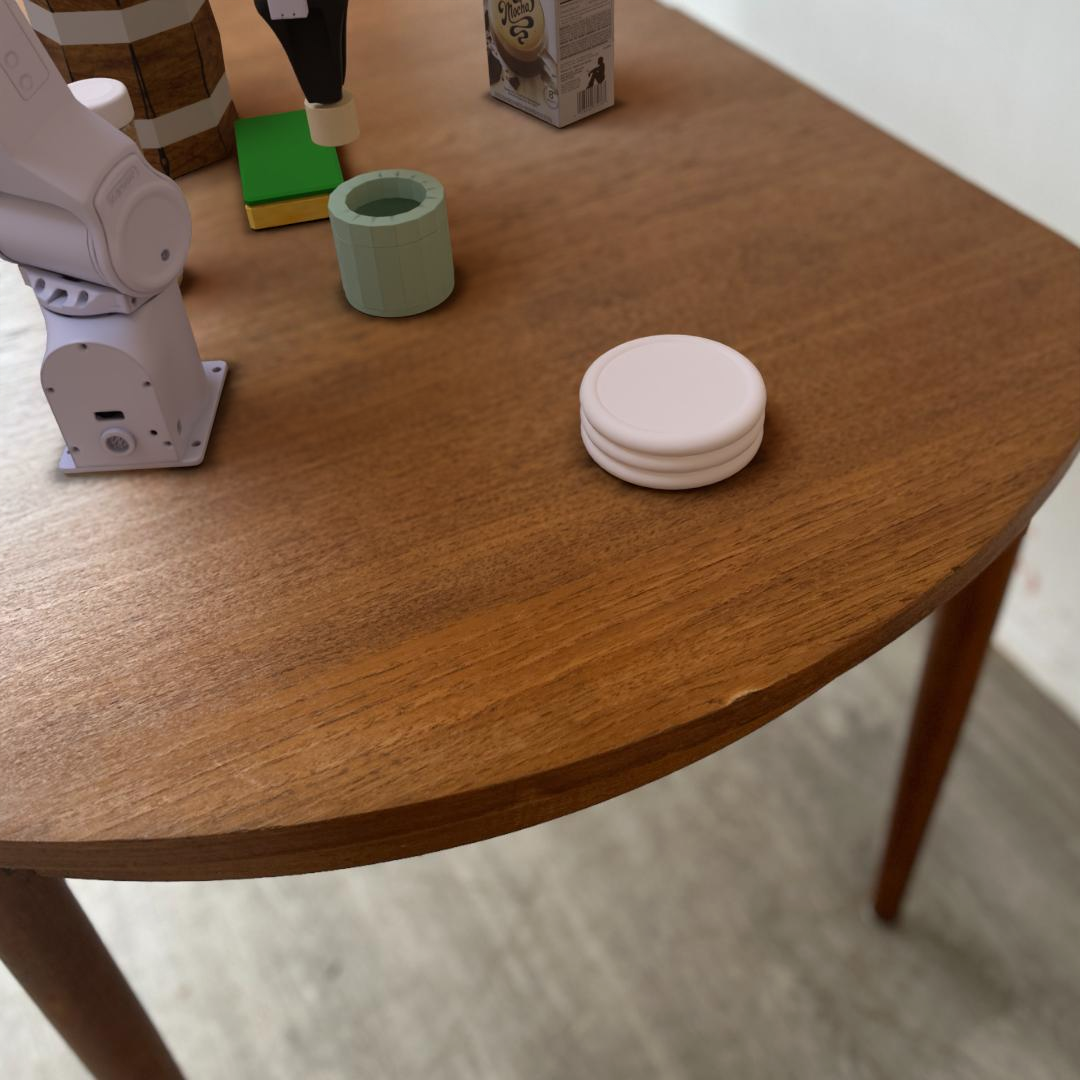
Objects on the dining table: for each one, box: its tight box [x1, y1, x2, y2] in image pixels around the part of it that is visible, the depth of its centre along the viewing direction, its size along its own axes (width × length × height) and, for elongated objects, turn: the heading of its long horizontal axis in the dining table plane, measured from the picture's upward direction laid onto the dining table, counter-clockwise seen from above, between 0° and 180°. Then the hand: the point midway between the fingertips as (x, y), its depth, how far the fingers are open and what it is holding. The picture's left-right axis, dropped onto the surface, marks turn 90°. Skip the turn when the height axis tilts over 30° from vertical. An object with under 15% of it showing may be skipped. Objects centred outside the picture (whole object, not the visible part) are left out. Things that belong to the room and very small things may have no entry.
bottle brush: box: [303, 88, 361, 147], centre depth 74 cm, size 3×3×11 cm
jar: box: [328, 168, 456, 318], centre depth 76 cm, size 7×7×6 cm
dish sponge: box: [234, 108, 345, 230], centre depth 89 cm, size 7×14×2 cm, turn 14°
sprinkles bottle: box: [68, 78, 184, 287], centre depth 75 cm, size 5×5×13 cm
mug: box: [22, 0, 241, 180], centre depth 93 cm, size 20×14×15 cm
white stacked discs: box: [578, 334, 768, 491], centre depth 65 cm, size 10×10×4 cm
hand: (326, 92), depth 76 cm, fingers closed on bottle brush, 2 cm apart
